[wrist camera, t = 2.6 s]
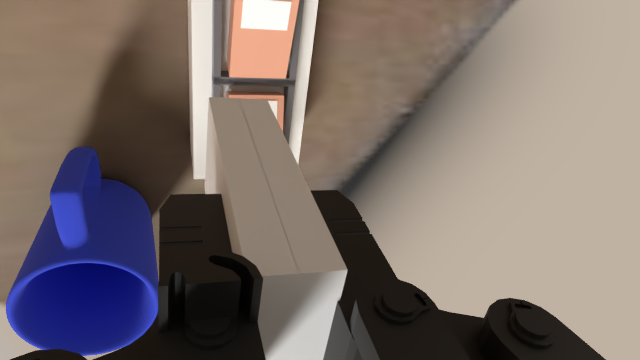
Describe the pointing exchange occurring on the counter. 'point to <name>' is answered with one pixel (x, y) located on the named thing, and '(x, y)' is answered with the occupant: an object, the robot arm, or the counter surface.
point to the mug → (87, 265)
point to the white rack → (213, 77)
